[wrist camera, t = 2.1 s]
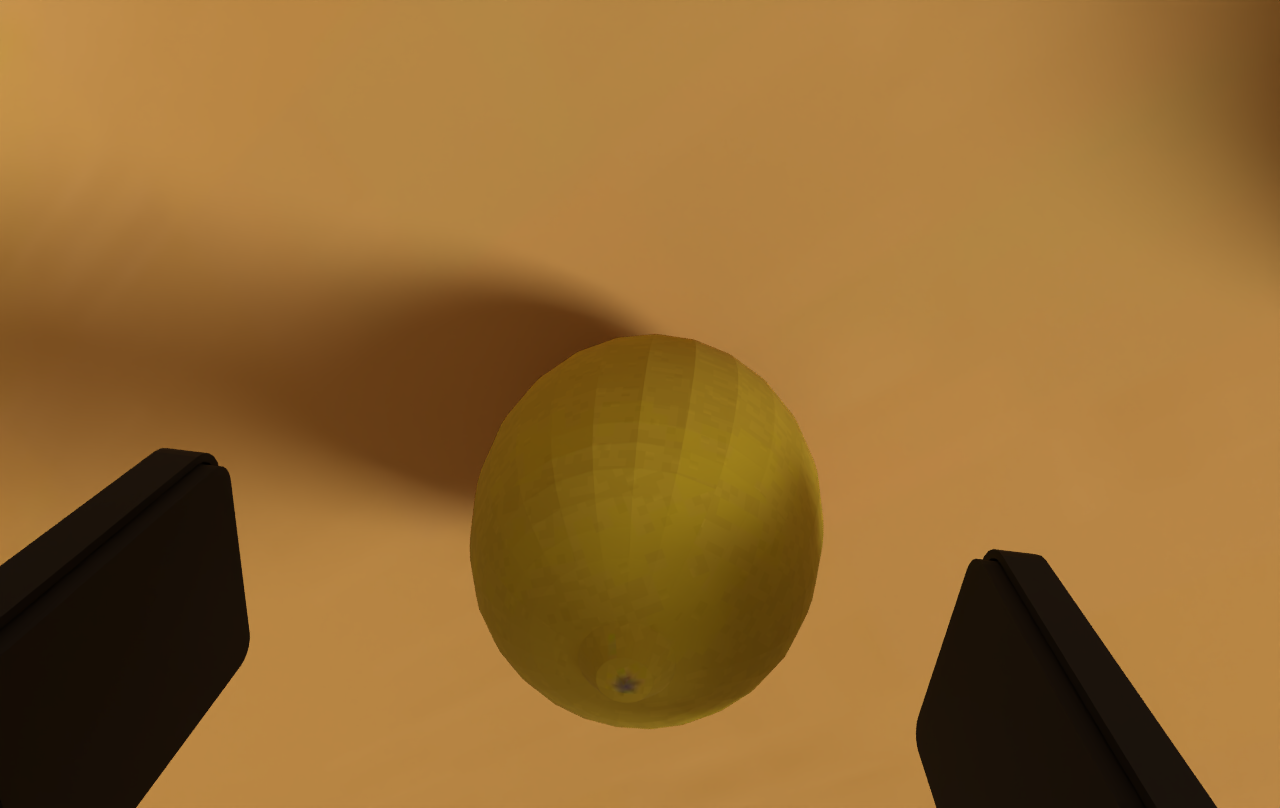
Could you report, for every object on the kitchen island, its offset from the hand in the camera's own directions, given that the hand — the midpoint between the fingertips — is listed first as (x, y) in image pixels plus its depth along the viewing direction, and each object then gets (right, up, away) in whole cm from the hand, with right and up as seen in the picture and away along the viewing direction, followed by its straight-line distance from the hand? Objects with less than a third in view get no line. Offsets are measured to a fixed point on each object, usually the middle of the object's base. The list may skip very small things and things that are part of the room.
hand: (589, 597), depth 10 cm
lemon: (+1, +2, +7) cm, 7 cm away
